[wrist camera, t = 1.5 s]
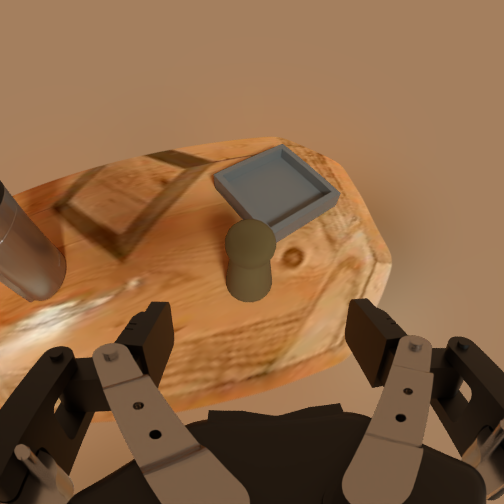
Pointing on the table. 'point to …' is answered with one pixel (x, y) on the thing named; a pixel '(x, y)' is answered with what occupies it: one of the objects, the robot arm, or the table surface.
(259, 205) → the tray
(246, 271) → the cork
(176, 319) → the table surface
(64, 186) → the table surface
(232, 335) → the table surface
